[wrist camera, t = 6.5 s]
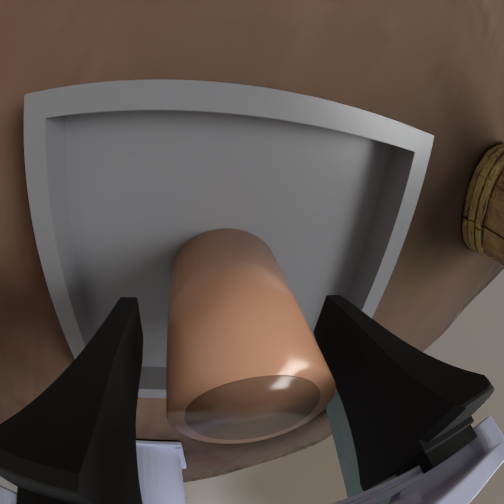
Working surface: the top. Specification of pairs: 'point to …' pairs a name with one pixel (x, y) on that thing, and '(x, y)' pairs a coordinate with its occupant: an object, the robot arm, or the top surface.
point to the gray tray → (210, 195)
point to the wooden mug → (486, 206)
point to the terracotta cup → (238, 344)
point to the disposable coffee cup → (345, 447)
